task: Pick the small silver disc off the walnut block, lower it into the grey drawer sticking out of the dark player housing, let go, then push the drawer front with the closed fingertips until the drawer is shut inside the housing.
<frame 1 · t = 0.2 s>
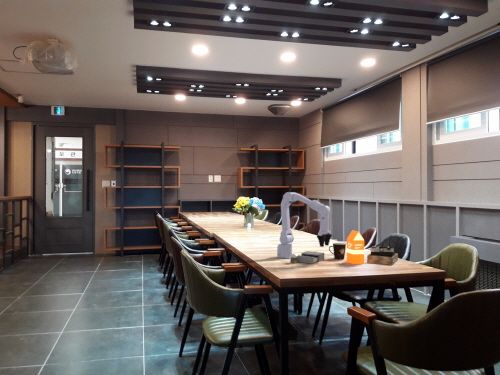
hand: (324, 246, 240), 10 cm above the table, tool pointing down, fingers open, 7 cm apart
orange juice: (355, 262, 239), on the table
coffee mug: (337, 259, 252), on the table
walnut block: (293, 262, 235), on the table
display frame: (382, 261, 244), on the table
housing: (312, 259, 247), on the table
camera: (380, 261, 245), on the table
disc: (293, 257, 235), point 3 cm above the table, touching walnut block
grey drawer: (307, 258, 239), point 2 cm above the table, slide at 8.0 cm
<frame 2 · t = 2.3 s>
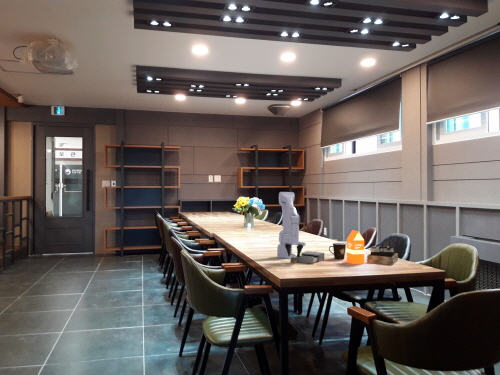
hand: (293, 256, 235), 4 cm above the table, tool pointing down, fingers closed on disc, 5 cm apart
disc: (293, 257, 235), point 3 cm above the table, touching gripper, walnut block
everything else where it was.
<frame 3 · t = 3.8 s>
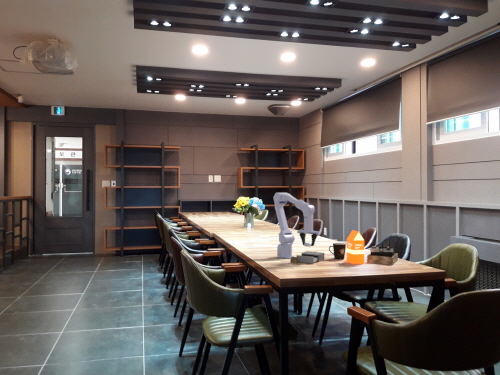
hand: (308, 245, 240), 10 cm above the table, tool pointing down, fingers closed on disc, 5 cm apart
disc: (308, 245, 240), point 10 cm above the table, touching gripper
when the fingers open (3 cm above the table, at t = 5.4 s): disc drops 2 cm, resting on grey drawer.
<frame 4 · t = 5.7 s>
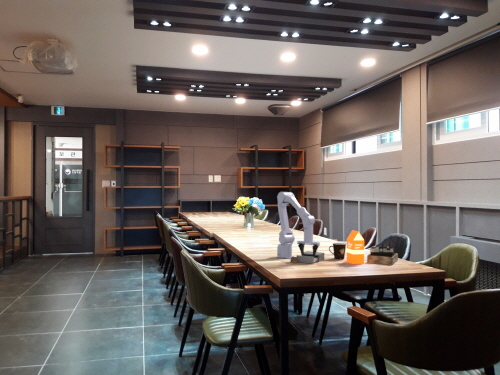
hand: (308, 256, 240), 3 cm above the table, tool pointing down, fingers open, 7 cm apart
disc: (308, 259, 240), point 1 cm above the table, touching grey drawer
grey drawer: (307, 258, 239), point 2 cm above the table, slide at 8.0 cm, touching disc
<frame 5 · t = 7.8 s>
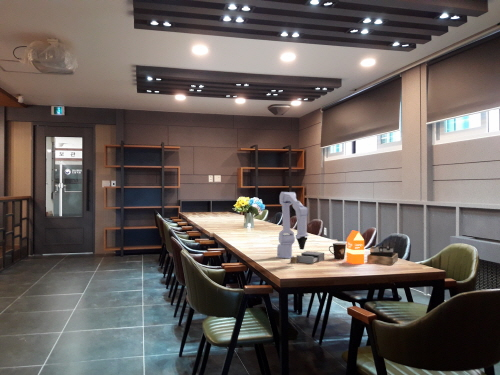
hand: (301, 249, 231), 9 cm above the table, tool pointing down, fingers closed
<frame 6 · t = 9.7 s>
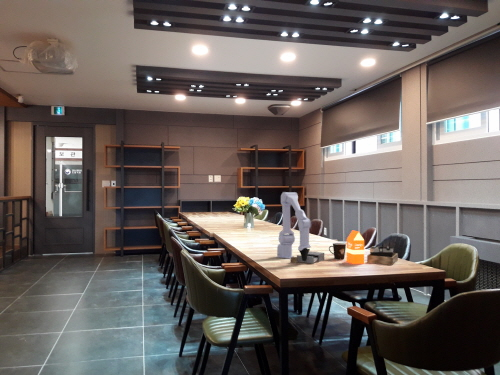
hand: (304, 260, 234), 2 cm above the table, tool pointing down, fingers closed
grey drawer: (308, 258, 240), point 2 cm above the table, slide at 7.5 cm, touching disc, gripper
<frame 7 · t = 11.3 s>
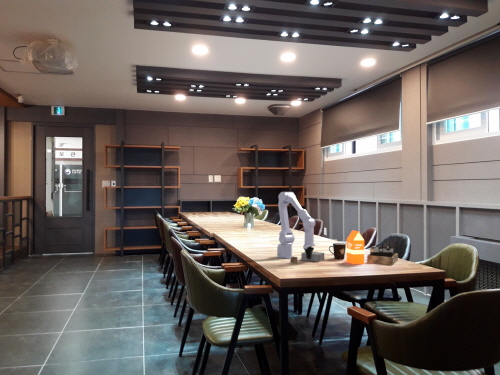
hand: (308, 258, 241), 2 cm above the table, tool pointing down, fingers closed
camera: (380, 261, 244), on the table, touching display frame
disc: (312, 257, 247), point 1 cm above the table, touching grey drawer
grey drawer: (312, 256, 246), point 2 cm above the table, slide at -0.1 cm, touching disc, gripper
everything else where it was.
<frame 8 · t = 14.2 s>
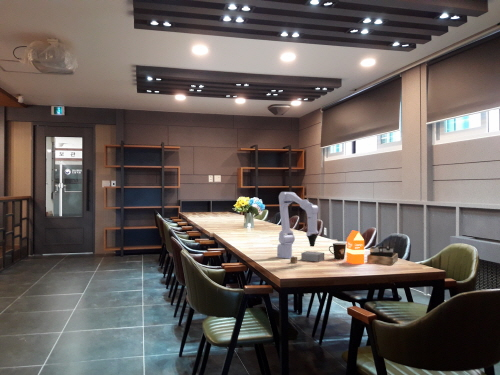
hand: (312, 246, 235), 10 cm above the table, tool pointing down, fingers closed
camera: (380, 261, 244), on the table
grey drawer: (312, 256, 246), point 2 cm above the table, slide at 0.0 cm, touching disc
everything else where it was.
at the end: grey drawer slide at 0.0 cm; disc inside the target area on the housing (0.1 cm from its centre), point 1.5 cm above the housing's base; the gripper is holding nothing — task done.
